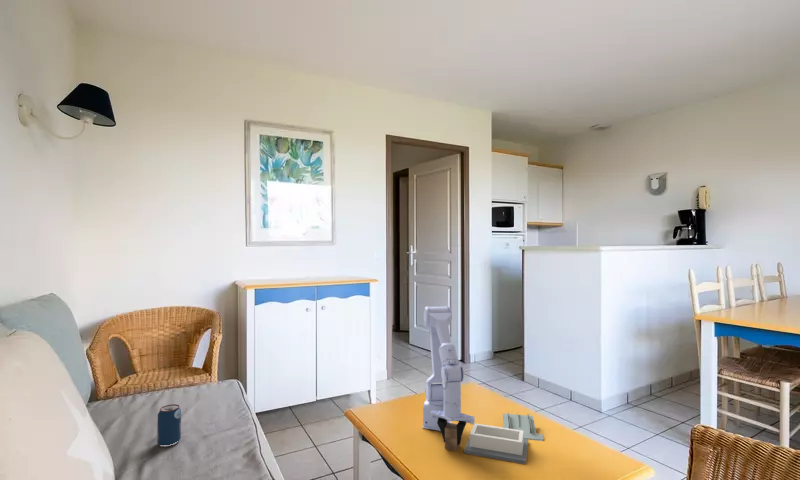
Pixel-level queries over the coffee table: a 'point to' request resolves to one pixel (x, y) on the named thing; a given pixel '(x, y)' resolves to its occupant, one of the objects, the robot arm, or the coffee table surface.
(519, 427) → the metal bracket
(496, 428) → the well
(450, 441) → the walnut block
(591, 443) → the coffee table surface
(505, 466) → the coffee table surface
